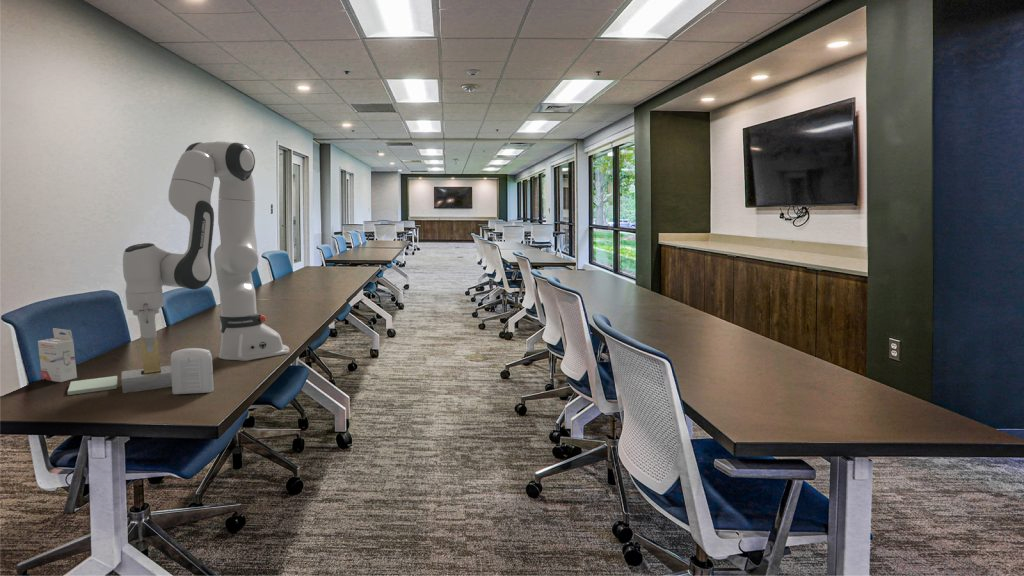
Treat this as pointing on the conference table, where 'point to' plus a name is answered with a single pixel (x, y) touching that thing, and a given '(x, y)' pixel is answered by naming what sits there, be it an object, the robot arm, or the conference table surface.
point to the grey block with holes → (146, 379)
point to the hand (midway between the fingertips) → (150, 349)
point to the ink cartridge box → (58, 357)
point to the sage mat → (92, 385)
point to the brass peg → (150, 358)
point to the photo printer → (191, 371)
